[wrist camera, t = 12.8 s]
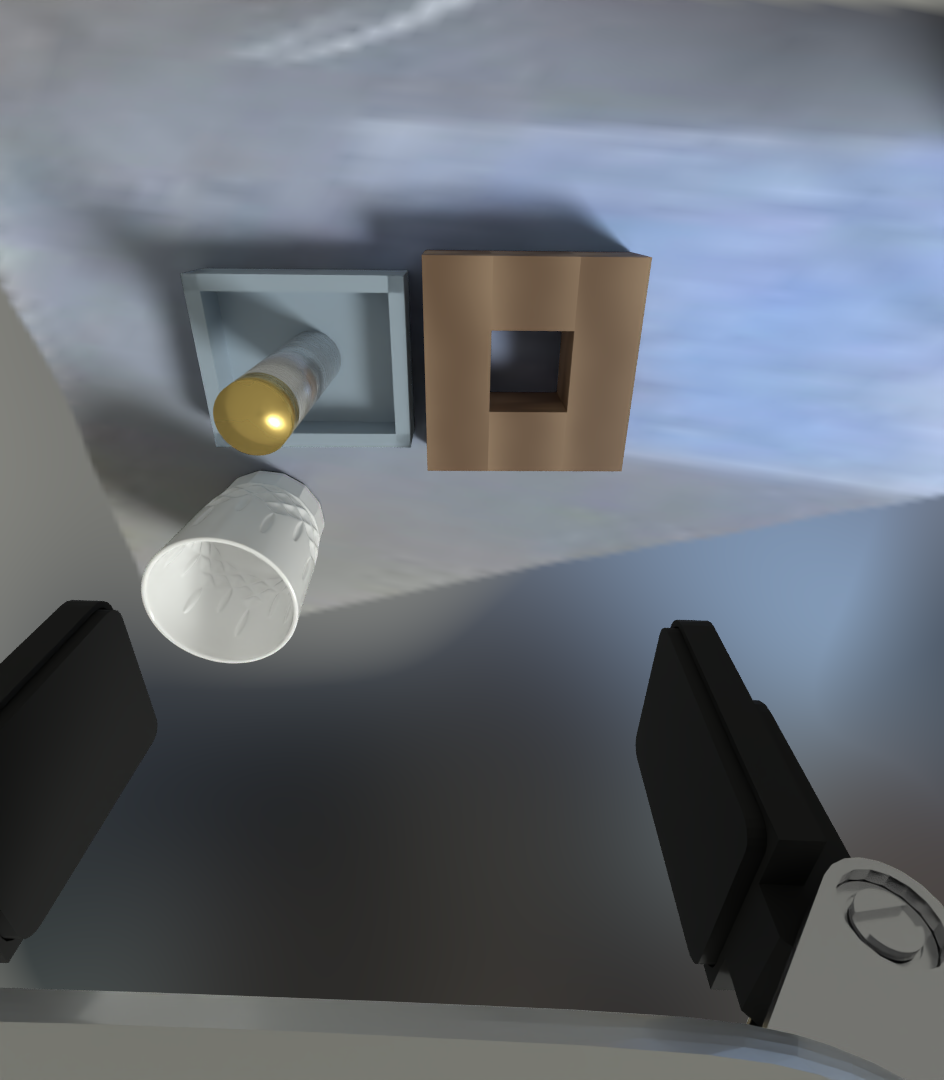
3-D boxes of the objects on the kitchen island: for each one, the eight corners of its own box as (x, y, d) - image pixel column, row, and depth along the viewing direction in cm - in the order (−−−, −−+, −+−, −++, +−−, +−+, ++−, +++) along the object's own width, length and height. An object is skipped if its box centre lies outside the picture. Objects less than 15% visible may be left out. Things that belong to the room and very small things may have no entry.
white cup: (216, 560, 41) (150, 656, 32) (208, 453, 37) (130, 529, 28) (332, 573, 42) (298, 670, 33) (335, 469, 38) (297, 547, 29)
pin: (338, 330, 33) (284, 381, 23) (343, 384, 34) (295, 455, 24) (283, 330, 33) (206, 381, 23) (291, 384, 34) (221, 455, 24)
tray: (408, 270, 32) (403, 275, 30) (414, 430, 37) (410, 447, 34) (203, 268, 32) (179, 273, 29) (233, 429, 36) (216, 446, 34)
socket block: (630, 252, 32) (651, 257, 28) (606, 446, 37) (621, 471, 34) (426, 249, 32) (421, 254, 28) (430, 445, 37) (427, 470, 34)
